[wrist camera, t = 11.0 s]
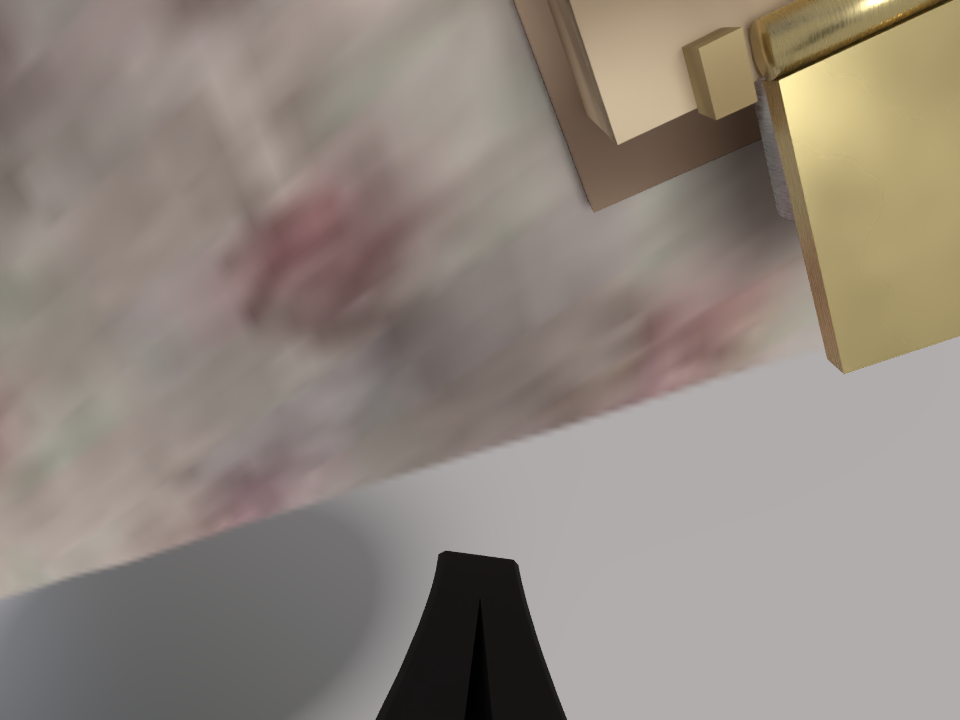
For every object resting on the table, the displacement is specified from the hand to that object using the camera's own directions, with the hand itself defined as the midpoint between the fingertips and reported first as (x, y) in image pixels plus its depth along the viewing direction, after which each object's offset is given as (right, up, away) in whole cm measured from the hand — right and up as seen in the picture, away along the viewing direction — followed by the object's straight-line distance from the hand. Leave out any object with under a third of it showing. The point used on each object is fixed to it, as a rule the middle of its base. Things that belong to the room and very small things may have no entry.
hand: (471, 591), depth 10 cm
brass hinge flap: (+8, +8, 0) cm, 11 cm away
